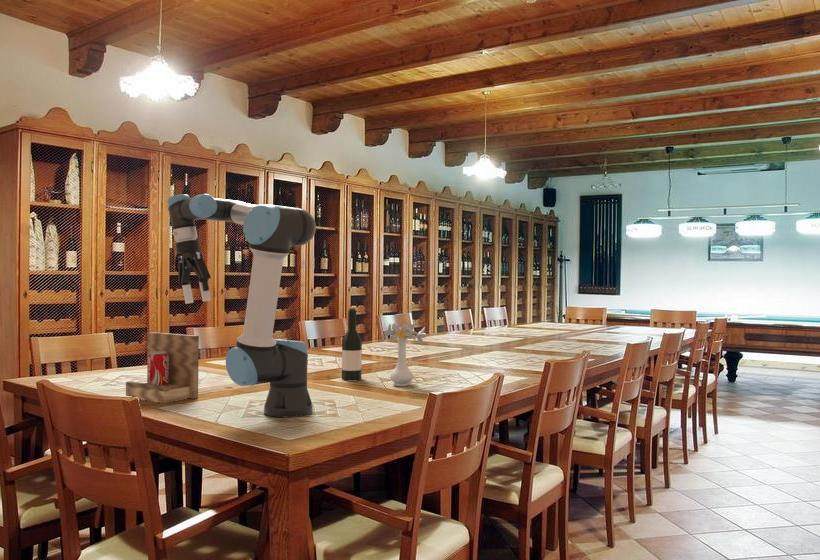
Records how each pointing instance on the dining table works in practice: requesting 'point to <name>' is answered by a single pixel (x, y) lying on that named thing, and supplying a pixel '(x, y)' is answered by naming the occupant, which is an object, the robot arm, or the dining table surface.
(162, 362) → the soda can
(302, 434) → the dining table surface
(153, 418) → the dining table surface
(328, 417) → the dining table surface
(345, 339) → the wine bottle
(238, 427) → the dining table surface
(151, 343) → the cleat board
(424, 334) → the flower vase
